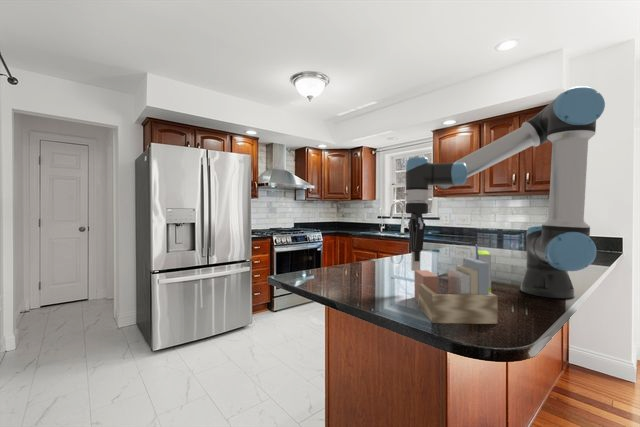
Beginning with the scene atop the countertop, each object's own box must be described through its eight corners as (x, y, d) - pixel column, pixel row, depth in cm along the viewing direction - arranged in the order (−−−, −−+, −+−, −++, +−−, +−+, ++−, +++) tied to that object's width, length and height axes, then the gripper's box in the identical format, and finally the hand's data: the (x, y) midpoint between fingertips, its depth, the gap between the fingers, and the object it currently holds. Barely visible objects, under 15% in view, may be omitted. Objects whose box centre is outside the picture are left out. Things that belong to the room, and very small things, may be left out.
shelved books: (471, 310, 90) (471, 258, 90) (488, 322, 80) (488, 263, 80) (456, 310, 90) (456, 257, 90) (471, 321, 81) (470, 263, 81)
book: (428, 297, 104) (428, 270, 104) (438, 306, 94) (438, 276, 94) (414, 297, 104) (414, 270, 104) (423, 306, 94) (423, 276, 94)
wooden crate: (473, 307, 92) (473, 284, 92) (497, 323, 79) (497, 295, 79) (418, 307, 93) (418, 283, 93) (432, 323, 80) (432, 295, 80)
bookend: (455, 310, 90) (455, 268, 90) (469, 321, 81) (469, 274, 81) (448, 310, 90) (448, 268, 90) (461, 321, 81) (461, 274, 81)
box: (491, 304, 96) (491, 247, 96) (476, 303, 97) (476, 247, 97) (488, 296, 106) (488, 244, 106) (474, 294, 107) (474, 244, 107)
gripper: (401, 203, 116) (400, 266, 116) (410, 201, 103) (409, 273, 103) (422, 203, 116) (421, 267, 116) (433, 202, 103) (432, 274, 103)
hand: (415, 270), depth 110 cm, fingers closed
